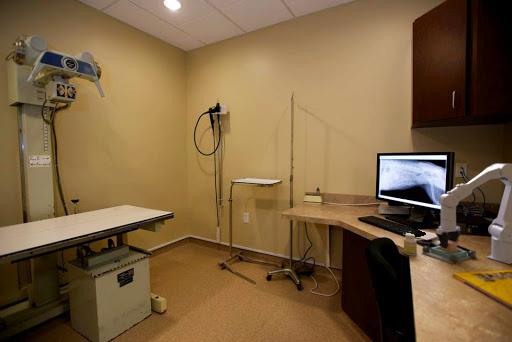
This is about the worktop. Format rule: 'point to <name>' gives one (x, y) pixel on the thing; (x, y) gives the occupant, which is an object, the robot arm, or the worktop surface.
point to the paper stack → (428, 235)
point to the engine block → (450, 247)
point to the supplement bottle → (410, 244)
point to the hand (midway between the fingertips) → (448, 246)
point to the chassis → (448, 254)
